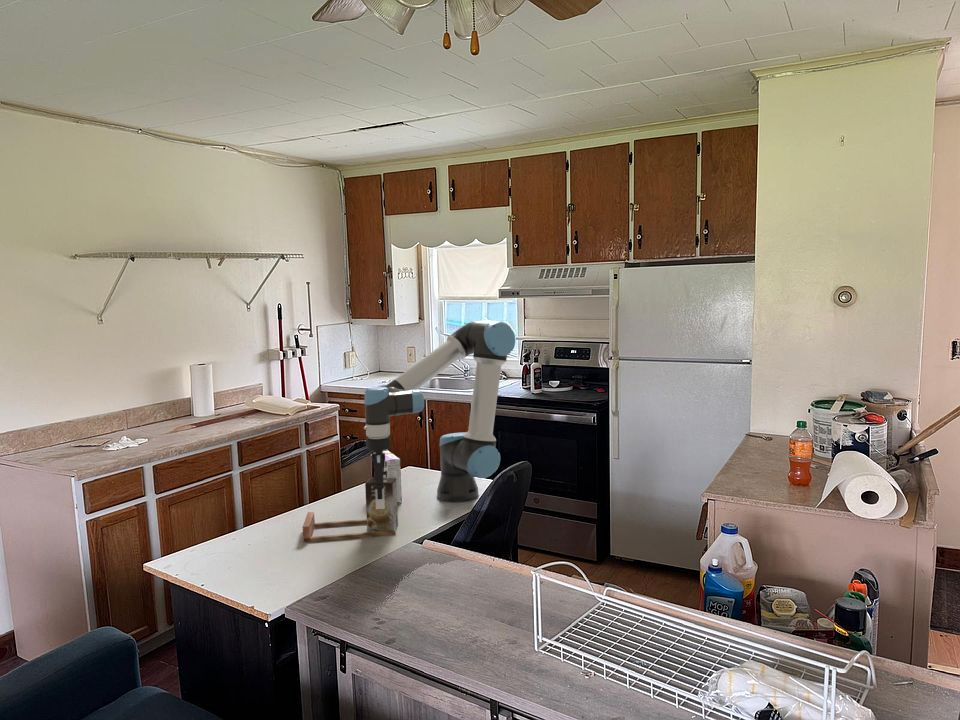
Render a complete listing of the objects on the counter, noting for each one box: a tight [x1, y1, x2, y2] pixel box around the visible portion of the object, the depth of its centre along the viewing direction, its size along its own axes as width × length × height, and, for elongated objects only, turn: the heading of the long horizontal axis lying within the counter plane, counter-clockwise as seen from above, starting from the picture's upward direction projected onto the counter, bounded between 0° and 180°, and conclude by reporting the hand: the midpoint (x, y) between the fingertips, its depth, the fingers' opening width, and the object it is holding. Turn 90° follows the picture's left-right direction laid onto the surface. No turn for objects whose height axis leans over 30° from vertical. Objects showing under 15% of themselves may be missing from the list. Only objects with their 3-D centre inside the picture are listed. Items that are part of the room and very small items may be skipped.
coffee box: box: [364, 476, 399, 532], centre depth 215 cm, size 9×6×16 cm
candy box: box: [373, 450, 403, 505], centre depth 245 cm, size 14×6×16 cm, turn 25°
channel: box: [302, 511, 397, 543], centre depth 214 cm, size 28×13×5 cm, turn 98°
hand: (380, 501), depth 215 cm, fingers open, 13 cm apart
